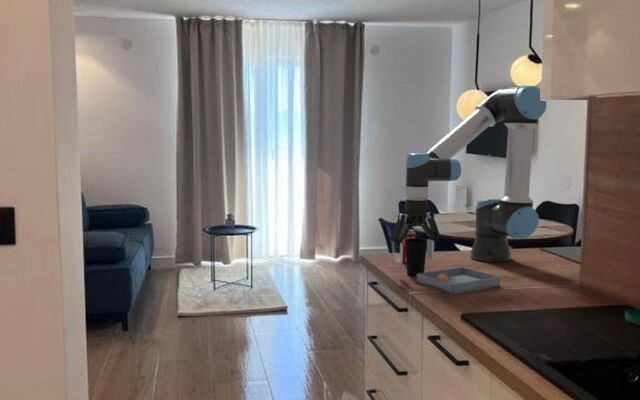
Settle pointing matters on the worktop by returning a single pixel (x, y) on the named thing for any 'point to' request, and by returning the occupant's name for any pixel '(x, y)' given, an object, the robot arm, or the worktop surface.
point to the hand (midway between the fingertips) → (414, 260)
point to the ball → (442, 277)
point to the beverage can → (409, 235)
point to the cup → (415, 255)
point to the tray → (458, 280)
